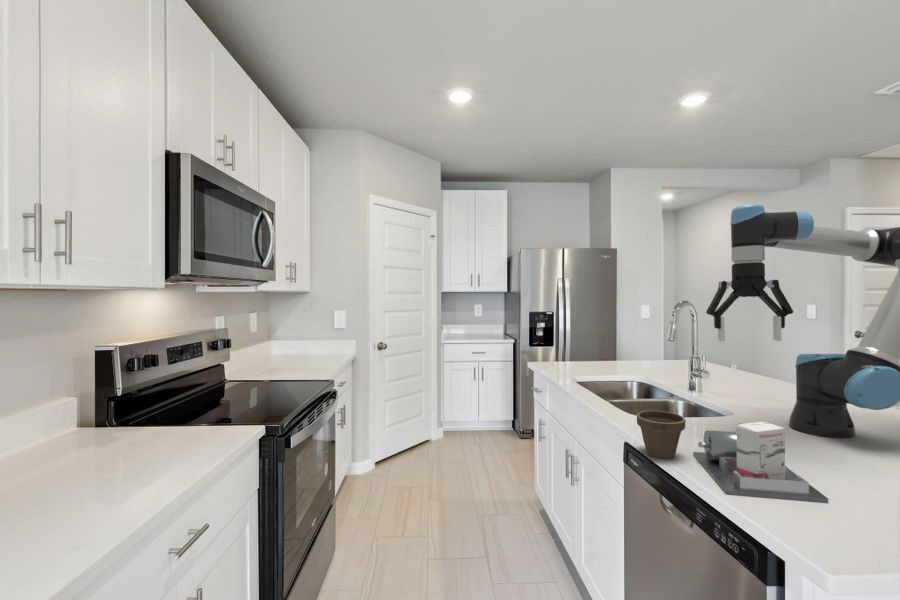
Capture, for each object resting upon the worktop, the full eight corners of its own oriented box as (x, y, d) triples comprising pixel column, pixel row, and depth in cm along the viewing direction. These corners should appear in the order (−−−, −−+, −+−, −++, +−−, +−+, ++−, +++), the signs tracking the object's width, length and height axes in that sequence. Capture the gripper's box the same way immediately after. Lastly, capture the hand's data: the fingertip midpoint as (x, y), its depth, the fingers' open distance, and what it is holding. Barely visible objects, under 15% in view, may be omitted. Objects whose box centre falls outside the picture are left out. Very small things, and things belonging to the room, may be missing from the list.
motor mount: (773, 460, 110) (773, 421, 110) (828, 502, 88) (828, 454, 88) (693, 455, 114) (693, 417, 114) (726, 494, 92) (725, 447, 92)
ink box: (755, 487, 93) (755, 431, 93) (734, 478, 98) (734, 424, 98) (786, 482, 96) (786, 427, 96) (764, 473, 100) (764, 420, 100)
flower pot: (683, 466, 107) (683, 424, 107) (633, 457, 113) (632, 418, 113) (687, 451, 117) (687, 413, 117) (640, 444, 123) (640, 408, 123)
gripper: (792, 261, 122) (793, 339, 123) (693, 265, 128) (694, 339, 128) (808, 259, 115) (809, 342, 115) (702, 263, 120) (703, 341, 121)
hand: (749, 340), depth 122 cm, fingers open, 13 cm apart
